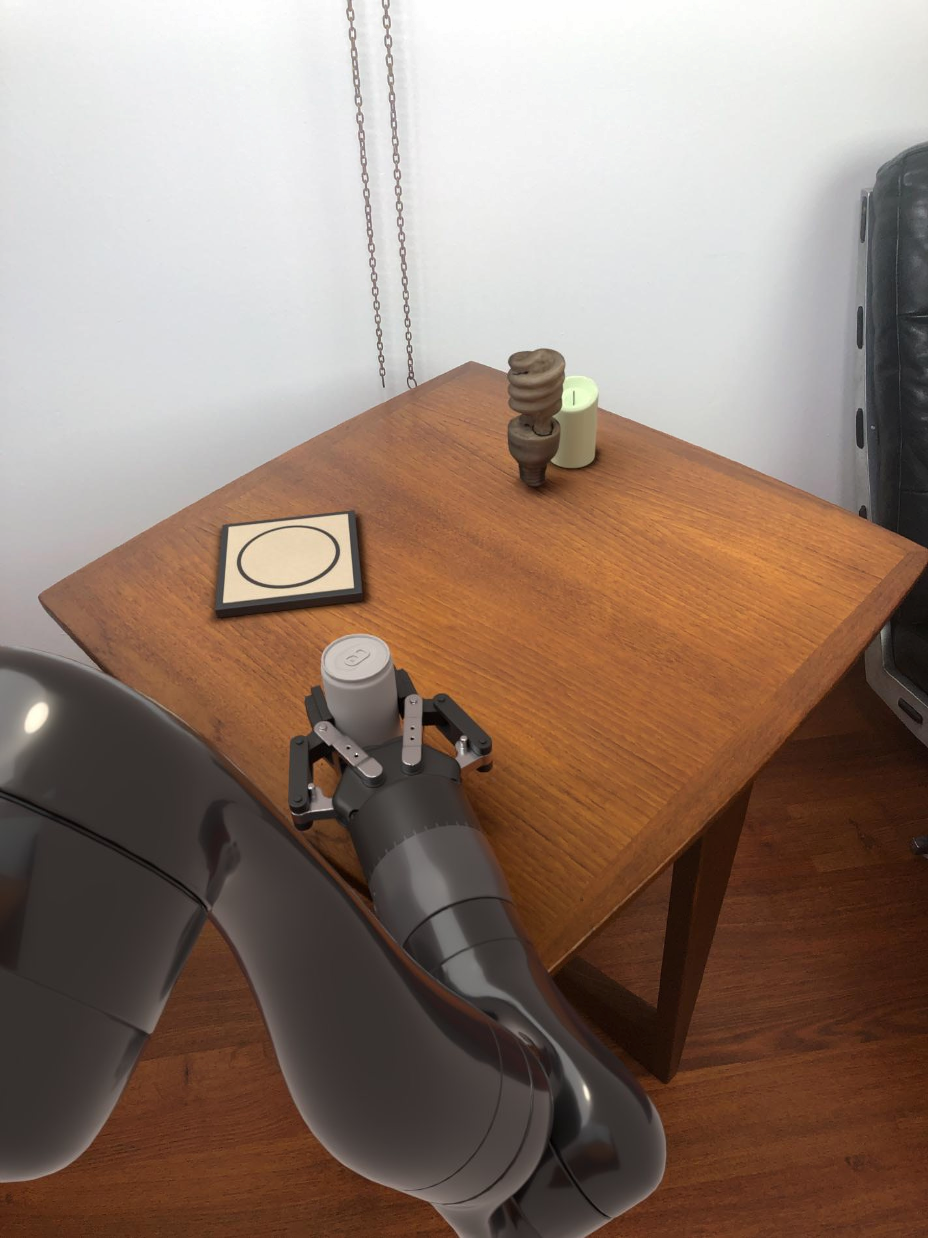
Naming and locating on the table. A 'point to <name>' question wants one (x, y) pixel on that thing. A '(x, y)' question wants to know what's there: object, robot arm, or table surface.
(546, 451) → the light bulb
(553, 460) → the candle
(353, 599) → the black and cream coaster
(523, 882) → the table surface
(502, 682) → the table surface
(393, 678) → the beverage can
